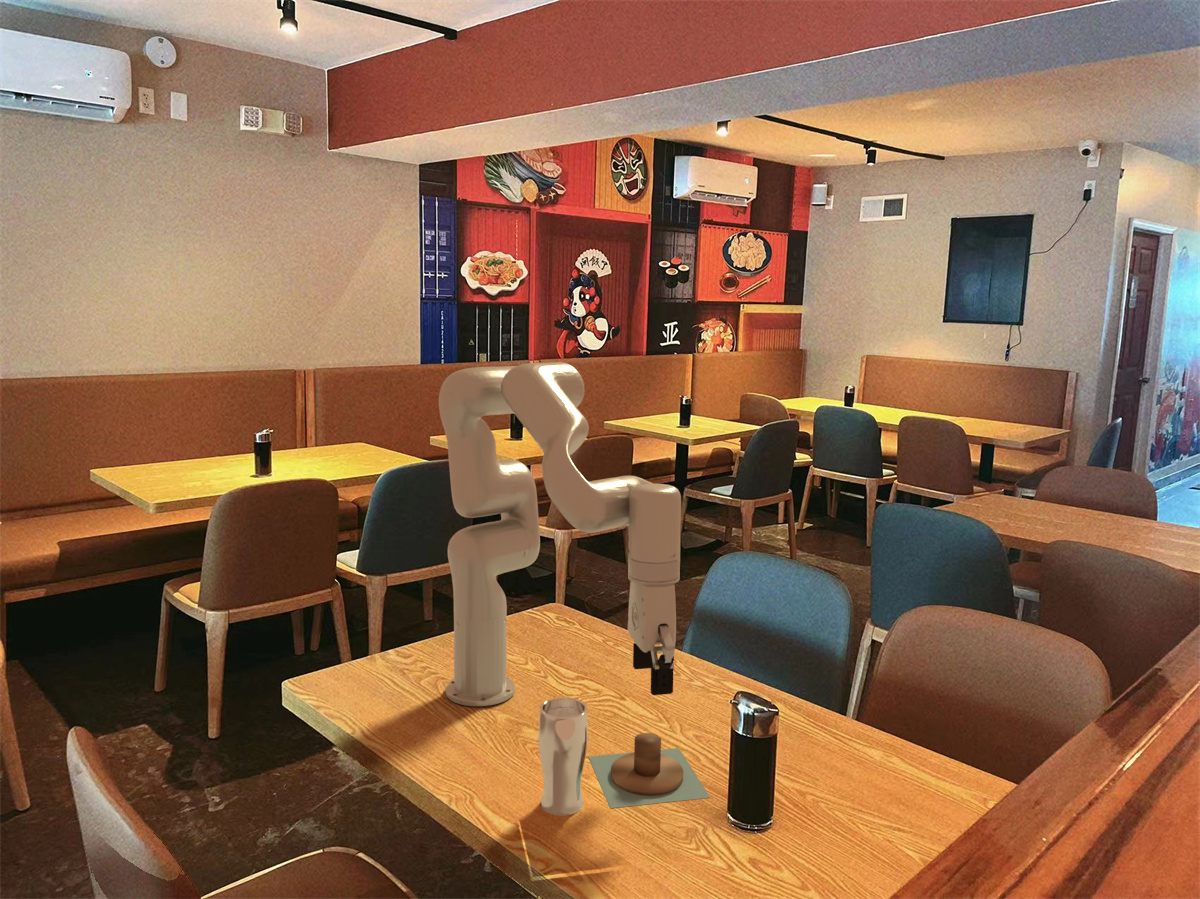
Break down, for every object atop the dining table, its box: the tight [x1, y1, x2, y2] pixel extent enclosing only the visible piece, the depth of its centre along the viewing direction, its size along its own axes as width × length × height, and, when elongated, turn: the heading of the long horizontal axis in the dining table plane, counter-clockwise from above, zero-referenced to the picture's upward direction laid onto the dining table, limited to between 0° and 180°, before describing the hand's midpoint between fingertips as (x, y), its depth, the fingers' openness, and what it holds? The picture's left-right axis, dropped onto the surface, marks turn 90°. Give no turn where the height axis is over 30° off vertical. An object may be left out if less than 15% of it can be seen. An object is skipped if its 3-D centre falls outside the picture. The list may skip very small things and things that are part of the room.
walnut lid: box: [611, 732, 683, 796], centre depth 135 cm, size 11×11×6 cm
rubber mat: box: [587, 747, 711, 810], centre depth 135 cm, size 15×15×1 cm
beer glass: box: [538, 697, 589, 817], centre depth 126 cm, size 7×7×15 cm
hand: (652, 680), depth 132 cm, fingers open, 9 cm apart
